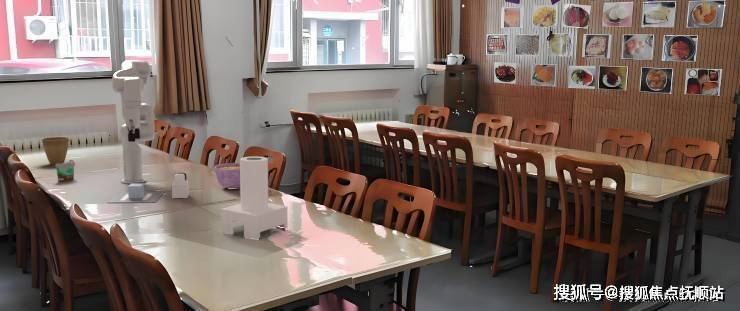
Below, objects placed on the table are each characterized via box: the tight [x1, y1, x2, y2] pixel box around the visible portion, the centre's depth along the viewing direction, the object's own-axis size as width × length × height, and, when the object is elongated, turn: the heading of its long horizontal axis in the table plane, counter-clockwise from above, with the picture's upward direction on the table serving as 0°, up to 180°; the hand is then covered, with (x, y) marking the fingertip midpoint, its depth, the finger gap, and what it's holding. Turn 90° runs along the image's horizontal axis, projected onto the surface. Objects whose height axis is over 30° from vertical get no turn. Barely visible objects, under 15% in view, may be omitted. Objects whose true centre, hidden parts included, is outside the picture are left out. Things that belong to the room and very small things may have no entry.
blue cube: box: [127, 183, 145, 198], centre depth 320 cm, size 6×6×6 cm
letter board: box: [106, 191, 164, 204], centre depth 320 cm, size 22×22×1 cm
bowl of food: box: [213, 162, 240, 189], centre depth 345 cm, size 20×20×12 cm
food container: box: [55, 159, 76, 183], centre depth 356 cm, size 12×6×10 cm, turn 168°
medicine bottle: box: [171, 172, 190, 200], centre depth 322 cm, size 7×7×12 cm
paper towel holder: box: [220, 156, 288, 239], centre depth 265 cm, size 19×19×30 cm
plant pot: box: [41, 136, 70, 166], centre depth 400 cm, size 15×15×16 cm
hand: (134, 140), depth 316 cm, fingers open, 9 cm apart
